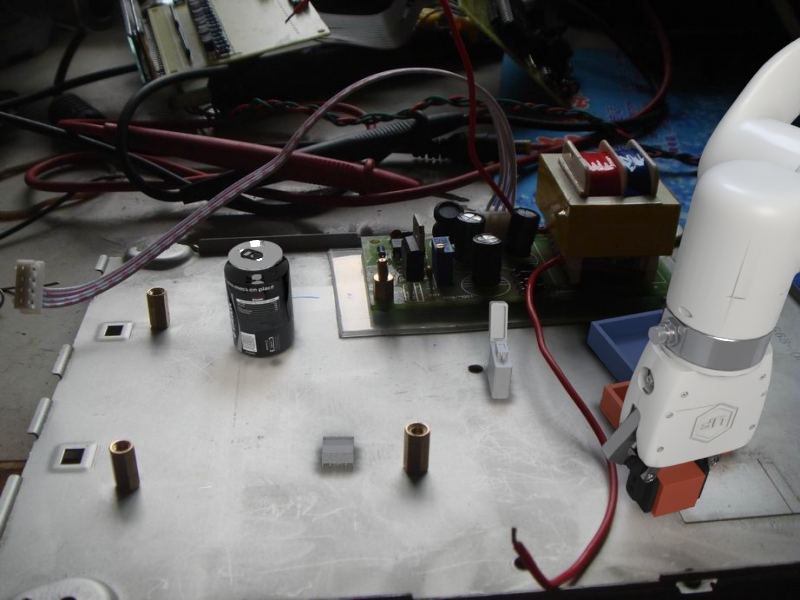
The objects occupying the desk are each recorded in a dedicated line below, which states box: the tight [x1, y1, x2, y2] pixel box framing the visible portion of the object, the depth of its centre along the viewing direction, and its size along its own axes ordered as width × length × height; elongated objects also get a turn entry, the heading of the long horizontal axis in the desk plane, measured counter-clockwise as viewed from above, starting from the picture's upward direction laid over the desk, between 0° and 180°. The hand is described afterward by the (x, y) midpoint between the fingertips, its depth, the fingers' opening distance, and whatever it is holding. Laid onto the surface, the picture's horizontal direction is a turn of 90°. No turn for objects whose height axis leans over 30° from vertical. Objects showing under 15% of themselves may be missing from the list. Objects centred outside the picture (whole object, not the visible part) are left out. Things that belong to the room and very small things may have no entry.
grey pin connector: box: [321, 435, 355, 469], centre depth 70 cm, size 3×2×2 cm
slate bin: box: [586, 308, 663, 383], centre depth 83 cm, size 9×9×3 cm
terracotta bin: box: [598, 381, 733, 456], centre depth 74 cm, size 9×9×3 cm
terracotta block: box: [650, 461, 705, 518], centre depth 64 cm, size 4×4×4 cm
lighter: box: [486, 300, 514, 400], centre depth 79 cm, size 7×2×8 cm, turn 2°
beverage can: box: [223, 240, 296, 359], centre depth 81 cm, size 7×7×12 cm
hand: (662, 492), depth 65 cm, fingers closed on terracotta block, 4 cm apart
